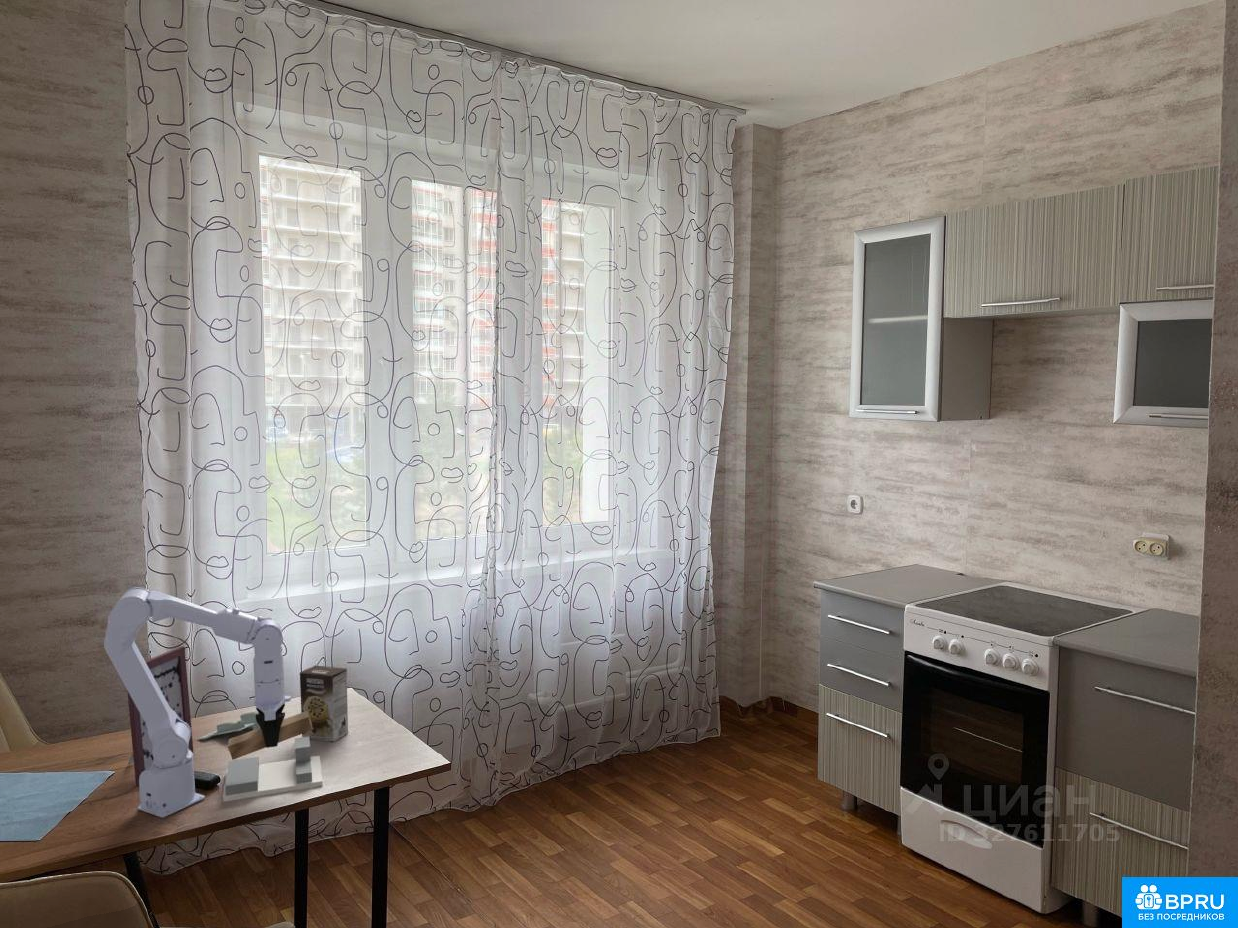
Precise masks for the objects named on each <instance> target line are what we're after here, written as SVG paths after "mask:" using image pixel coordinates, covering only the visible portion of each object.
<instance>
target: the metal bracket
mask: <svg viewBox="0 0 1238 928" xmlns="http://www.w3.org/2000/svg"><path fill="white" fill-rule="evenodd" d="M256 714H259V713H258V711H251V712H246V713H242V714H241V715H240V719H239V720H238V721H235V722H231V721H228V722H224V723H223V722H222V723H219V724H217V725H216V730H215V731H212V732H210V733H207V734H206V735H203V736H201V737H198V738H197V741H201V740H206V739H209V738H211V737H215V736H219V735H224V734H228V733H232V732H233V733H234V732H240V731H242V730H245V729H246V728H249V727H252V731H253V730H256V729H259V728H260V726H259V724H258V723H257V721H256Z"/></svg>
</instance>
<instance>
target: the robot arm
mask: <svg viewBox="0 0 1238 928" xmlns="http://www.w3.org/2000/svg"><path fill="white" fill-rule="evenodd" d="M240 611H241V608H238V607H235V606H234V607H233V608H232V609H231V608H228V607H227V608H224V609H222V610H220V611H219V610H218V611H215V610H213V609H210V608H207V607H205V606H201V605H199V604H196V603H194V602H190V601H187V600H185V599H182V598H179V597H176V596H173V595H170V594H167V593H165V592H161V591H158V590H151V591H150V590H148V589H147V588H144V587H141V586H136V587H132V588H129V589H126V591H124V592H123V593H122V594H121V596H120V597H119V599H118V600H117V603H116V604H115V605H114V607H113V608H112V610H111V611H110V613H109V615H108V616H107V626H106V631H105V635H104V641H103V647H104V650H105V652H106V654H107V656H108V658H109V659H110V661H111V663H112V665H113V666H114V669H115V670H116V672H117V674H118V676H119V678H120V679H121V681H122V683H123V684H124V687H125V688H126V691H127V690H128V692H129V694H130V696H131V698H132V699H133V701H134V703H135V705H136V707H137V709H138V710H139V712H140V714H141V716H142V718H143V719H144V721H145V723H146V726H147V730H148V735H149V739H150V740H151V742H152V745H153V752H152V753H153V758H154V759H153V764H152V765H151V766H150V767H149V768H148V769H147V770H145V771H143V772H142V773H141V774H140V777H139V785H138V789H139V805H138V807H137V809H138V810H140V811H142V812H145V813H148V814H150V815H153V816H156V817H158V818H166V817H168V816H169V815H172V814H174V813H176V812H178V811H180V810H182V809H185V808H187V807H190V806H192V805H194V804H196V803H198V802H201V801H202V800H204V799H206V796H205V795H203V794H201V793H197V792H196V785H195V768H194V767H195V764H194V753H192V752H191V751H190V750H189V747H188V745H189V740H190V738H191V729H192V728H191V729H190V727H189V725H188V724H187V723H185V722H184V721H182V720H181V719H180V718H179V717H178V716H177V714H176V712H175V711H173V710H172V709H171V708H170V707H169V705H168V703H167V701H166V699H165V697H164V695H163V694H162V692H161V690H160V688H159V686H158V684H157V682H156V681H155V679H154V677H153V675H152V673H151V671H150V670H149V668H148V666H147V664H146V662H145V661H146V660H145V658H144V657H143V655H142V653H141V651H140V649H139V647H138V645H137V644H136V642H135V640H136V637H137V634H138V633H139V630H140V629H141V628H142V627H144V625H145V624H146V623H147V622H148V620H149V619H150V618H152V623H156V622H160V621H162V620H165V619H169V618H171V619H176V620H180V621H183V622H188V623H191V624H194V625H195V624H196V625H199V626H204V627H208V628H211V629H212V632H213V633H214V636H216V637H219V638H223V639H225V640H226V639H227V640H230V641H233V642H237V643H241V644H243V645H251V646H252V647H253V649H254V657H253V660H252V661H253V680H254V682H253V683H254V685H253V686H254V701H253V704H254V707H256V708H255V710H256V712H257V713H259V714H256V721H257V723H258V724H259V726H260V728H261V730H262V733H263V737H264V741H265V745H266V748H267V749H269V748H275V747H278V744H279V743H278V740H279V733H280V727H281V724H282V721H283V719H285V717H286V712H285V711H284V709H285V706H286V703H287V702H291V700H292V699H291V698H292V697H291V695H286V694H285V672H284V671H285V670H284V656H283V655H284V654H283V653H282V652H283V646H282V645H283V642H284V641H283V640H284V637H283V632H282V627H281V625H280V623H279V622H278V621H277V620H274V619H272V617H264V616H261V615H258V616H254V615H250V614H248V613H244V612H240ZM128 692H127V693H128ZM283 711H284V712H283Z"/></svg>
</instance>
